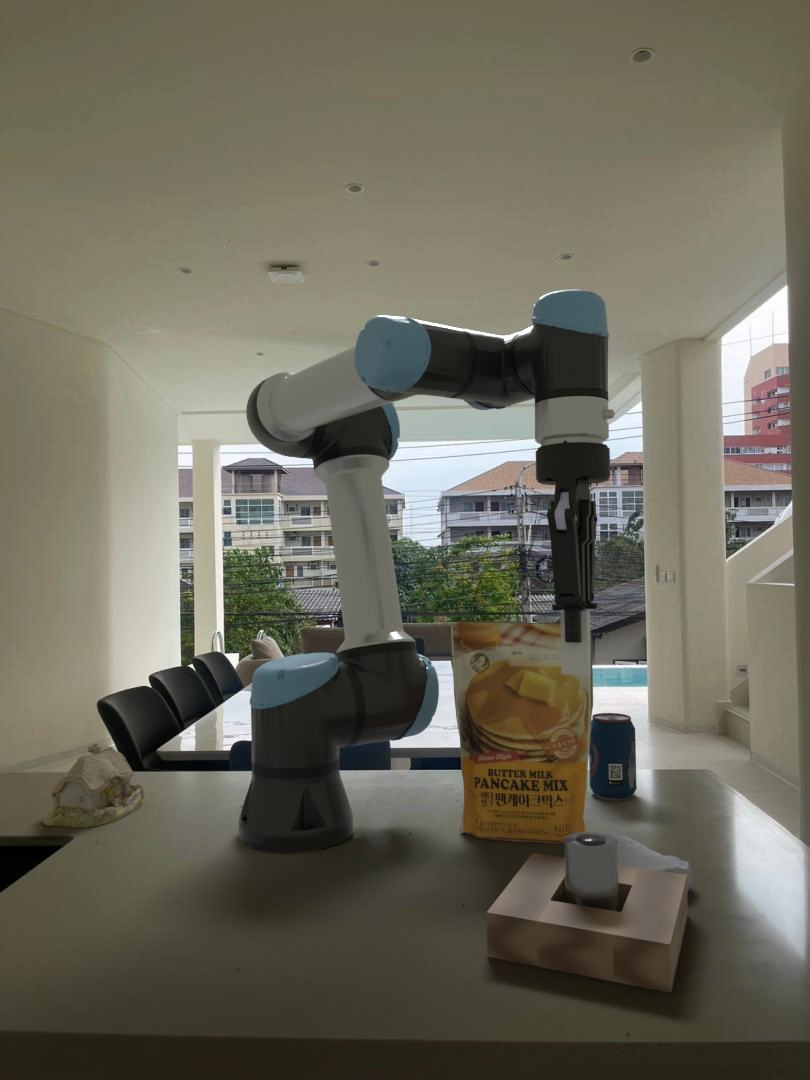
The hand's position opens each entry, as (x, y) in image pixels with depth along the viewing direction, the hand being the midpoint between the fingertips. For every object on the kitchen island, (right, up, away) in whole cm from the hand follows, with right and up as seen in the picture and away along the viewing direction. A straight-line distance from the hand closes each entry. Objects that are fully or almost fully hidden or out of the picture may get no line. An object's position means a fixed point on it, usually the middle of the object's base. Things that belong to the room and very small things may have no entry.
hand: (576, 673), depth 82 cm
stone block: (+8, -25, +8) cm, 28 cm away
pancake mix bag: (-2, -25, +23) cm, 35 cm away
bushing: (0, -24, -5) cm, 25 cm away
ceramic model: (-63, -27, +35) cm, 77 cm away
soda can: (+14, -26, +40) cm, 50 cm away
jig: (+1, -24, -5) cm, 25 cm away
